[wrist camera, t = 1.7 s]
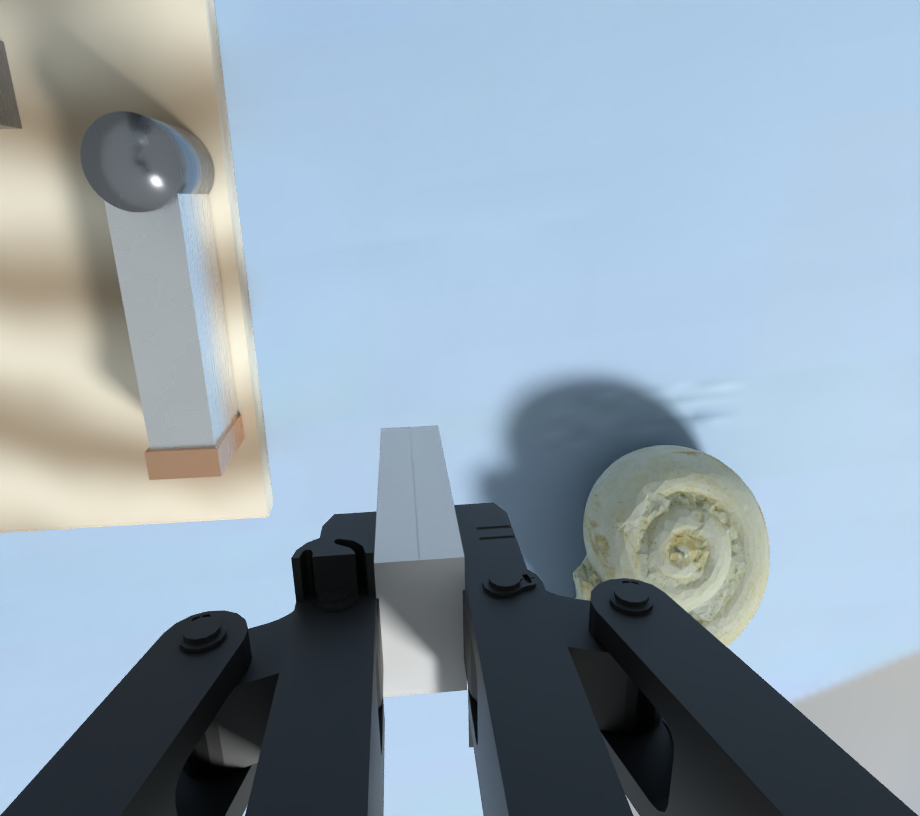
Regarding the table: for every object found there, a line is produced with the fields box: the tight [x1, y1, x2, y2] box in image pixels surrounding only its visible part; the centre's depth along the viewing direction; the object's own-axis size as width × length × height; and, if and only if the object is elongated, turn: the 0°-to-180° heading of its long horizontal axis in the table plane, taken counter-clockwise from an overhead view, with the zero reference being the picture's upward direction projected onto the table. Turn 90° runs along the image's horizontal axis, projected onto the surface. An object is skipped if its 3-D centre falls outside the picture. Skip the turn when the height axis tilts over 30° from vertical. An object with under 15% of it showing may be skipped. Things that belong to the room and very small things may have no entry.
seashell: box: [573, 445, 770, 647], centre depth 32 cm, size 13×8×10 cm
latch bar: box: [80, 111, 245, 480], centre depth 25 cm, size 13×3×4 cm, turn 1°
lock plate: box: [0, 0, 273, 533], centre depth 27 cm, size 24×14×2 cm, turn 1°
